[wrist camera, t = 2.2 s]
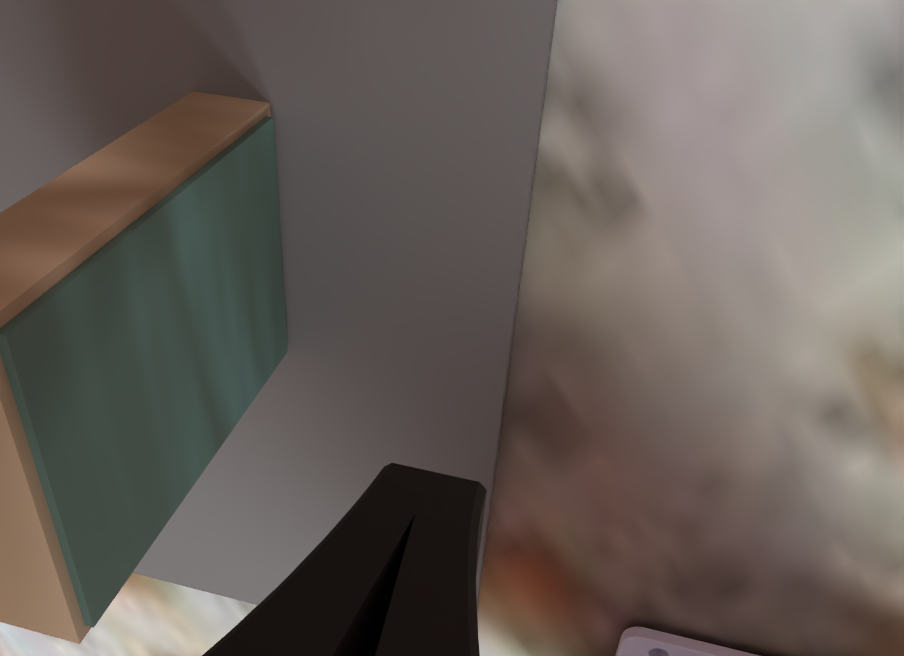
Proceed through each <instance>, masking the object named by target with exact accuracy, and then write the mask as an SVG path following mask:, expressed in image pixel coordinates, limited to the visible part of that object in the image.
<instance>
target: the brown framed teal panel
mask: <svg viewBox="0 0 904 656" xmlns="http://www.w3.org/2000/svg"><path fill="white" fill-rule="evenodd" d="M287 352H288V349H287V333H286V317H285V301H284V285H283V269H282V253H281V236H280V220H279V204H278V188H277V172H276V156H275V140H274V124H273V117H270V103H268V102H261V101H255V100H248V99H242V98H235V97H229V96H222V95H216V94H209V93H203V92H196V91H192V92H191V93H189V94H188V95H186V96H184V97H183V98H181V99H180V100H178V101H176V102H175V103H173V104H172V105H170V106H169V107H167V108H165V109H164V110H162V111H161V112H159V113H157V114H156V115H154V116H153V117H151V118H150V119H148V120H146V121H145V122H143V123H142V124H140V125H138V126H137V127H135V128H134V129H132V130H131V131H129V132H127V133H126V134H124V135H123V136H121V137H119V138H118V139H116V140H115V141H113V142H112V143H110V144H108V145H107V146H105V147H104V148H102V149H100V150H99V151H97V152H96V153H94V154H93V155H91V156H89V157H88V158H86V159H85V160H83V161H81V162H80V163H78V164H77V165H75V166H74V167H72V168H70V169H69V170H67V171H66V172H64V173H62V174H61V175H59V176H58V177H56V178H54V179H53V180H51V181H50V182H48V183H47V184H45V185H43V186H42V187H40V188H39V189H37V190H35V191H34V192H32V193H31V194H29V195H28V196H26V197H24V198H23V199H21V200H20V201H18V202H16V203H15V204H13V205H12V206H10V207H9V208H7V209H5V210H4V211H2V212H1V213H0V622H3V623H7V624H10V625H14V626H17V627H21V628H25V629H28V630H32V631H36V632H39V633H43V634H46V635H50V636H54V637H57V638H61V639H64V640H68V641H72V642H75V643H79V644H80V643H81V641H82V640H83V638H84V637H85V636H86V634H87V633H88V631H89V630H90V629H91V627H94V626H95V625H96V623H97V622H98V621H99V619H100V618H101V616H102V615H103V613H104V612H105V611H106V609H107V608H108V606H109V605H110V603H111V602H112V601H113V599H114V598H115V596H116V595H117V594H118V592H119V591H120V589H121V588H122V586H123V585H124V584H125V582H126V581H127V579H128V578H129V576H130V575H131V574H132V572H133V571H134V569H135V568H136V567H137V565H138V564H139V562H140V561H141V559H142V558H143V557H144V555H145V554H146V552H147V551H148V550H149V548H150V547H151V545H152V544H153V542H154V541H155V540H156V538H157V537H158V535H159V534H160V532H161V531H162V530H163V528H164V527H165V525H166V524H167V523H168V521H169V520H170V518H171V517H172V515H173V514H174V513H175V511H176V510H177V508H178V507H179V505H180V504H181V503H182V501H183V500H184V498H185V497H186V496H187V494H188V493H189V491H190V490H191V488H192V487H193V486H194V484H195V483H196V481H197V480H198V478H199V477H200V476H201V474H202V473H203V471H204V470H205V469H206V467H207V466H208V464H209V463H210V461H211V460H212V459H213V457H214V456H215V454H216V453H217V451H218V450H219V449H220V447H221V446H222V444H223V443H224V442H225V440H226V439H227V437H228V436H229V434H230V433H231V432H232V430H233V429H234V427H235V426H236V424H237V423H238V422H239V420H240V419H241V417H242V416H243V415H244V413H245V412H246V410H247V409H248V407H249V406H250V405H251V403H252V402H253V400H254V399H255V397H256V396H257V395H258V393H259V392H260V390H261V389H262V388H263V386H264V385H265V383H266V382H267V380H268V379H269V378H270V376H271V375H272V373H273V372H274V370H275V369H276V368H277V366H278V365H279V363H280V362H281V361H282V359H283V358H284V356H285V355H286V353H287Z"/></svg>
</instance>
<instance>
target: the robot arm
mask: <svg viewBox="0 0 904 656" xmlns="http://www.w3.org/2000/svg"><path fill="white" fill-rule="evenodd" d="M486 494H487V490H486V489H485V487H484V486H483V485H482V484H481V483H480V482H478V481H473V480H469V479H464V478H460V477H455V476H451V475H446V474H441V473H437V472H432V471H428V470H423V469H419V468H414V467H410V466H405V465H401V464H396V463H390V464H388V465H386V466H384V467H383V469H382V470H381V471H380V473H379V474H378V475H377V476H376V478H375V479H374V480H373V482H372V483H371V484H370V485H369V487H368V488H367V489H366V490H365V492H364V493H363V494H362V495H361V497H360V498H359V499H358V500H357V501H356V503H355V504H354V505H353V506H352V507H351V509H350V510H349V511H348V512H347V513H346V514H345V516H344V517H343V518H342V519H341V520H340V521H339V522H338V523H337V525H336V526H335V527H334V528H333V529H332V530H331V531H330V533H329V534H328V535H327V536H326V537H325V538H324V539H323V540H322V541H321V542H320V543H319V544H318V545H317V546H316V547H315V549H314V550H313V551H312V552H311V553H310V554H309V555H308V556H307V557H306V558H305V559H304V560H303V561H302V562H301V563H300V564H299V565H298V566H297V567H296V569H295V570H294V571H293V572H292V573H291V574H290V575H289V576H288V577H287V578H286V579H285V580H284V581H283V582H282V583H281V584H280V585H279V586H278V587H277V588H276V589H275V590H273V591H272V592H271V593H270V594H269V595H268V596H267V597H266V598H265V599H264V600H263V601H262V602H261V603H260V604H259V605H258V606H257V607H255V608H254V609H253V610H252V611H251V612H250V613H249V614H248V615H247V616H246V617H245V618H244V619H243V620H242V621H241V622H240V623H239V624H238V625H236V626H235V627H234V628H233V629H232V630H231V631H230V632H229V633H228V634H226V635H225V636H224V637H223V638H222V639H221V640H220V641H218V642H217V643H216V644H215V645H214V646H213V647H212V648H210V649H209V650H208V651H207V652H206V653H205V654H203V655H202V656H480V655H479V642H478V623H477V598H476V574H477V566H478V558H479V550H480V542H481V534H482V526H483V518H484V510H485V502H486ZM615 656H760V655H756V654H751V653H747V652H743V651H739V650H735V649H731V648H727V647H723V646H719V645H715V644H710V643H706V642H702V641H698V640H694V639H690V638H686V637H682V636H678V635H673V634H669V633H665V632H661V631H657V630H653V629H649V628H645V627H637V626H636V627H630V628H628V629H626V630H624V632H623V633H622V635H621V638H620V641H619V645H618V648H617V651H616V655H615Z"/></svg>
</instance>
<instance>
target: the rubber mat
mask: <svg viewBox="0 0 904 656" xmlns="http://www.w3.org/2000/svg"><path fill="white" fill-rule="evenodd" d="M556 6H557V0H0V213H1V212H2V211H4V210H5V209H7V208H9V207H10V206H12V205H13V204H15V203H16V202H18V201H20V200H21V199H23V198H24V197H26V196H28V195H29V194H31V193H32V192H34V191H35V190H37V189H39V188H40V187H42V186H43V185H45V184H47V183H48V182H50V181H51V180H53V179H54V178H56V177H58V176H59V175H61V174H62V173H64V172H66V171H67V170H69V169H70V168H72V167H74V166H75V165H77V164H78V163H80V162H81V161H83V160H85V159H86V158H88V157H89V156H91V155H93V154H94V153H96V152H97V151H99V150H100V149H102V148H104V147H105V146H107V145H108V144H110V143H112V142H113V141H115V140H116V139H118V138H119V137H121V136H123V135H124V134H126V133H127V132H129V131H131V130H132V129H134V128H135V127H137V126H138V125H140V124H142V123H143V122H145V121H146V120H148V119H150V118H151V117H153V116H154V115H156V114H157V113H159V112H161V111H162V110H164V109H165V108H167V107H169V106H170V105H172V104H173V103H175V102H176V101H178V100H180V99H181V98H183V97H184V96H186V95H188V94H189V93H191V92H192V91H196V92H203V93H209V94H216V95H222V96H229V97H235V98H242V99H248V100H255V101H261V102H268V103H270V117H273V124H274V140H275V156H276V172H277V188H278V204H279V220H280V236H281V253H282V269H283V285H284V301H285V317H286V333H287V349H288V352H287V353H286V355H285V356H284V358H283V359H282V361H281V362H280V363H279V365H278V366H277V368H276V369H275V370H274V372H273V373H272V375H271V376H270V378H269V379H268V380H267V382H266V383H265V385H264V386H263V388H262V389H261V390H260V392H259V393H258V395H257V396H256V397H255V399H254V400H253V402H252V403H251V405H250V406H249V407H248V409H247V410H246V412H245V413H244V415H243V416H242V417H241V419H240V420H239V422H238V423H237V424H236V426H235V427H234V429H233V430H232V432H231V433H230V434H229V436H228V437H227V439H226V440H225V442H224V443H223V444H222V446H221V447H220V449H219V450H218V451H217V453H216V454H215V456H214V457H213V459H212V460H211V461H210V463H209V464H208V466H207V467H206V469H205V470H204V471H203V473H202V474H201V476H200V477H199V478H198V480H197V481H196V483H195V484H194V486H193V487H192V488H191V490H190V491H189V493H188V494H187V496H186V497H185V498H184V500H183V501H182V503H181V504H180V505H179V507H178V508H177V510H176V511H175V513H174V514H173V515H172V517H171V518H170V520H169V521H168V523H167V524H166V525H165V527H164V528H163V530H162V531H161V532H160V534H159V535H158V537H157V538H156V540H155V541H154V542H153V544H152V545H151V547H150V548H149V550H148V551H147V552H146V554H145V555H144V557H143V558H142V559H141V561H140V562H139V564H138V565H137V567H136V568H135V569H134V571H133V572H132V573H136V574H140V575H144V576H148V577H151V578H155V579H159V580H163V581H167V582H171V583H175V584H178V585H182V586H186V587H190V588H194V589H198V590H202V591H206V592H209V593H213V594H217V595H221V596H225V597H229V598H233V599H236V600H240V601H244V602H248V603H252V604H256V605H259V604H260V603H261V602H262V601H263V600H264V599H265V598H266V597H267V596H268V595H269V594H270V593H271V592H272V591H273V590H275V589H276V588H277V587H278V586H279V585H280V584H281V583H282V582H283V581H284V580H285V579H286V578H287V577H288V576H289V575H290V574H291V573H292V572H293V571H294V570H295V569H296V567H297V566H298V565H299V564H300V563H301V562H302V561H303V560H304V559H305V558H306V557H307V556H308V555H309V554H310V553H311V552H312V551H313V550H314V549H315V547H316V546H317V545H318V544H319V543H320V542H321V541H322V540H323V539H324V538H325V537H326V536H327V535H328V534H329V533H330V531H331V530H332V529H333V528H334V527H335V526H336V525H337V523H338V522H339V521H340V520H341V519H342V518H343V517H344V516H345V514H346V513H347V512H348V511H349V510H350V509H351V507H352V506H353V505H354V504H355V503H356V501H357V500H358V499H359V498H360V497H361V495H362V494H363V493H364V492H365V490H366V489H367V488H368V487H369V485H370V484H371V483H372V482H373V480H374V479H375V478H376V476H377V475H378V474H379V473H380V471H381V470H382V469H383V467H384V466H386V465H388V464H390V463H396V464H401V465H405V466H410V467H414V468H419V469H423V470H428V471H432V472H437V473H441V474H446V475H451V476H455V477H460V478H464V479H469V480H473V481H478V482H480V483H481V484H482V485H483V486H484V487H485V489H486V490H487V494H486V502H485V510H484V518H483V526H482V534H481V542H480V550H479V558H478V566H477V574H476V598H477V608H478V601H479V593H480V585H481V578H482V570H483V563H484V555H485V547H486V540H487V532H488V524H489V517H490V509H491V502H492V494H493V486H494V479H495V471H496V464H497V456H498V448H499V441H500V433H501V425H502V418H503V410H504V403H505V395H506V387H507V380H508V372H509V364H510V357H511V349H512V342H513V334H514V326H515V319H516V311H517V304H518V296H519V288H520V281H521V273H522V265H523V258H524V250H525V243H526V235H527V227H528V220H529V212H530V204H531V197H532V189H533V182H534V174H535V166H536V159H537V151H538V144H539V136H540V128H541V121H542V113H543V105H544V98H545V90H546V83H547V75H548V67H549V60H550V52H551V44H552V37H553V29H554V22H555V14H556Z"/></svg>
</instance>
